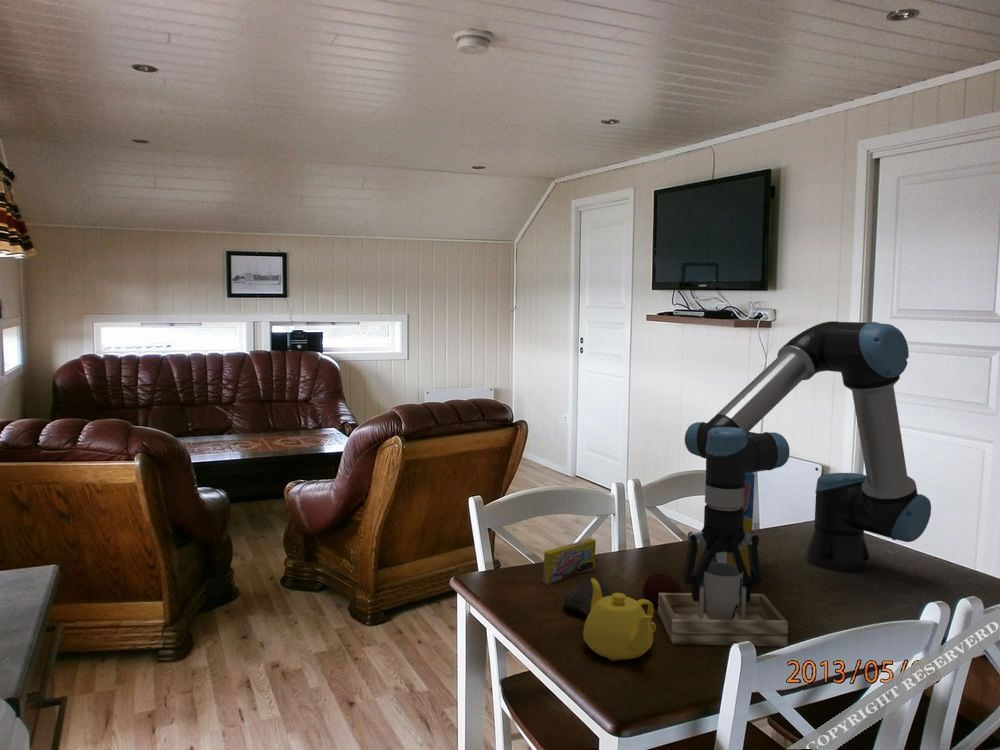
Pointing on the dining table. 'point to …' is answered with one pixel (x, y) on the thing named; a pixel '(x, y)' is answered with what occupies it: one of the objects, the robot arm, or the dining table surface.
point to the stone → (583, 596)
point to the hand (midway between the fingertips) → (720, 616)
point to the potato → (659, 587)
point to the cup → (722, 591)
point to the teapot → (618, 625)
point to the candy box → (569, 561)
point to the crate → (722, 623)
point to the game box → (747, 525)
